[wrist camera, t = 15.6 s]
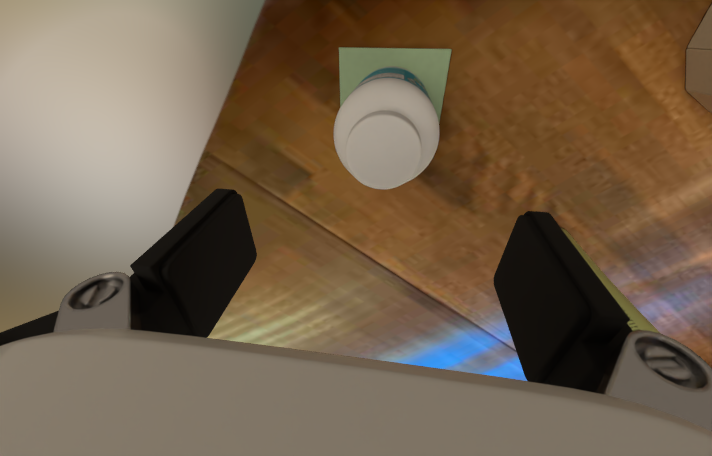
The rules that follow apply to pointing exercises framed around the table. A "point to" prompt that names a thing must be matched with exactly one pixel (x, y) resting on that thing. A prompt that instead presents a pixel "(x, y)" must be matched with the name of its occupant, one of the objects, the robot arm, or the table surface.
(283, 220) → the table surface
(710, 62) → the polygonal ring band
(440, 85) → the mat
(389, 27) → the table surface
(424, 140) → the pill bottle
